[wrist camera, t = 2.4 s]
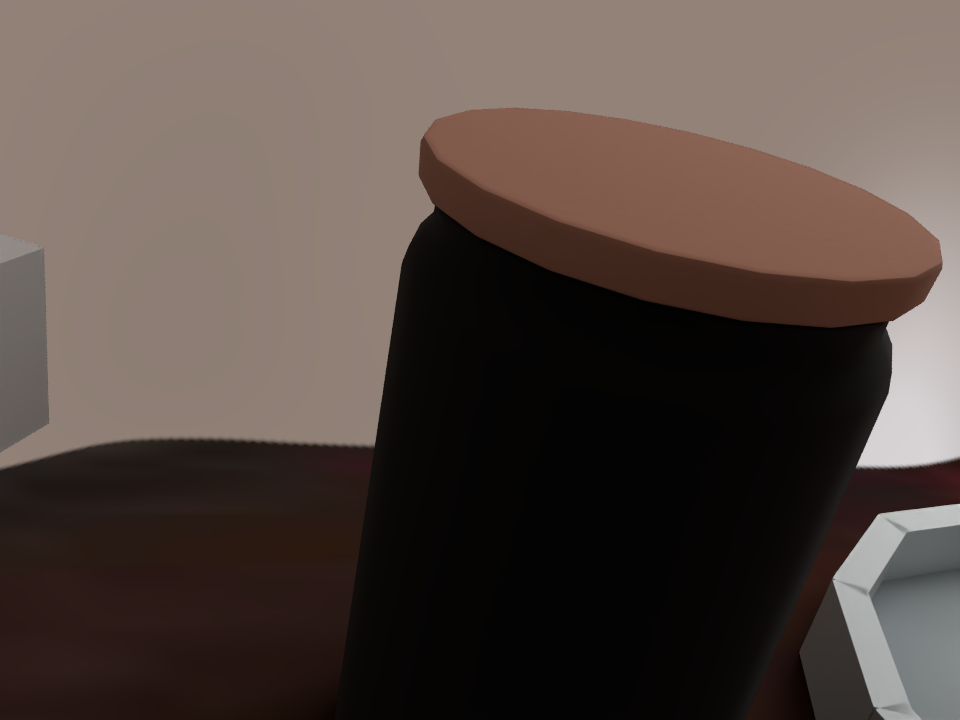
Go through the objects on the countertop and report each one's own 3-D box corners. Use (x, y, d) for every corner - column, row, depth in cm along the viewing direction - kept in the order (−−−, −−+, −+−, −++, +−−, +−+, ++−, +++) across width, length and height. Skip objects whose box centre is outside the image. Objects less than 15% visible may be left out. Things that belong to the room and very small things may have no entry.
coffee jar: (736, 749, 29) (974, 212, 20) (590, 1054, 20) (899, 342, 12) (462, 587, 33) (569, 94, 25) (248, 781, 24) (307, 128, 16)
